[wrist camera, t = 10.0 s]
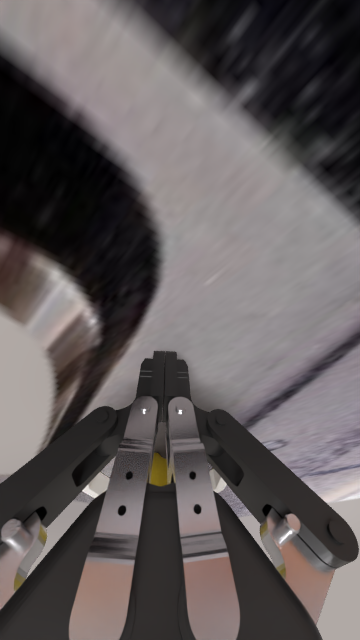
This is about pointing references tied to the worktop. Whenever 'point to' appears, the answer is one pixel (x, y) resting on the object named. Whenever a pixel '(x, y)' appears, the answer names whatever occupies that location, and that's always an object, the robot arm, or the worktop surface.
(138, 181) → the worktop surface
